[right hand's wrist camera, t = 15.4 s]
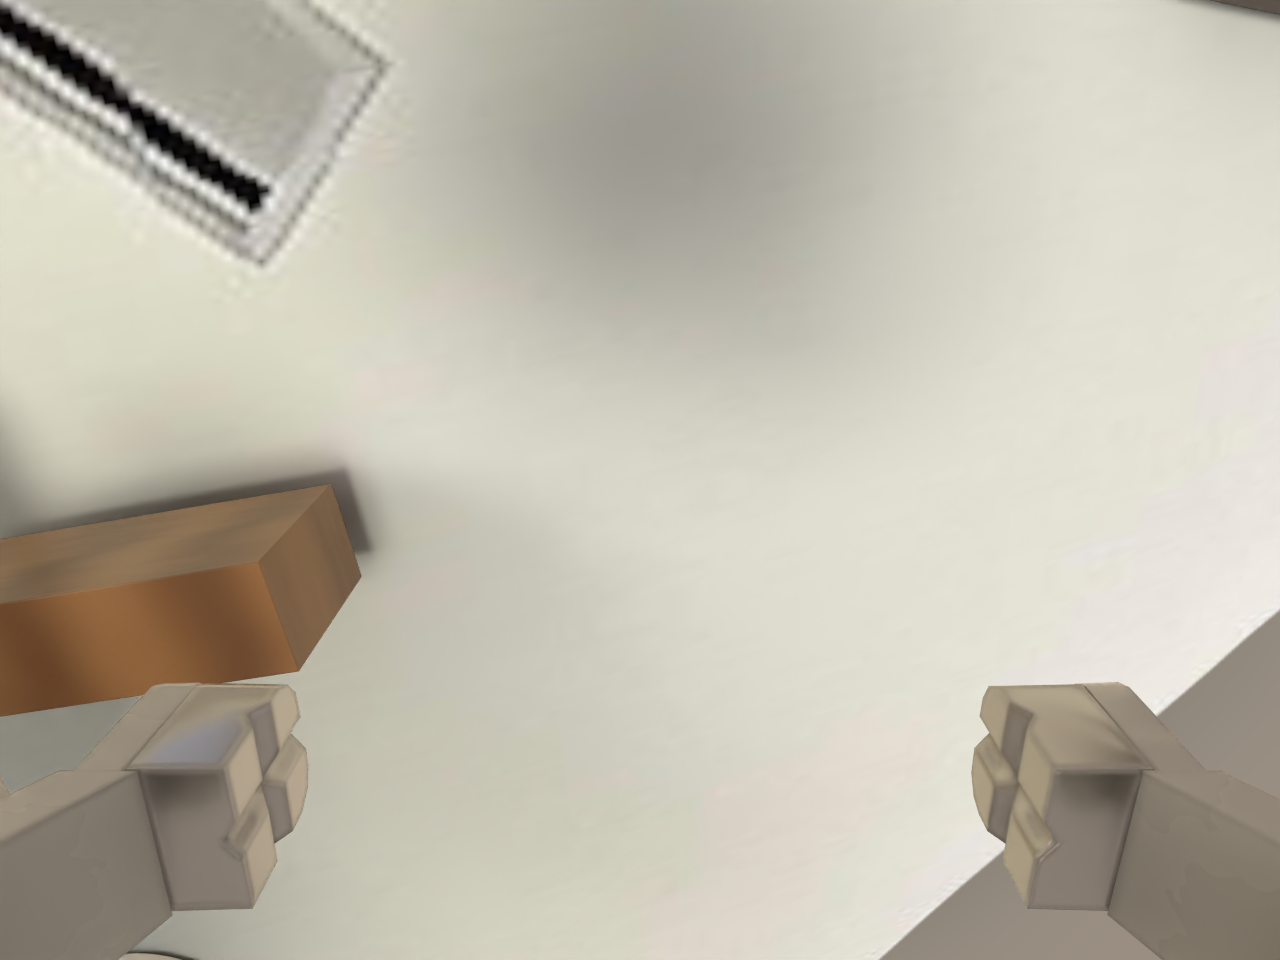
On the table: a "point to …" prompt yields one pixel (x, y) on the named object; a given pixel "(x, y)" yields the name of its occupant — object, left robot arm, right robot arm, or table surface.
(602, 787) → the table surface
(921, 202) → the table surface
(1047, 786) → the right robot arm
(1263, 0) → the toy
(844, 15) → the table surface
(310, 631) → the bar
